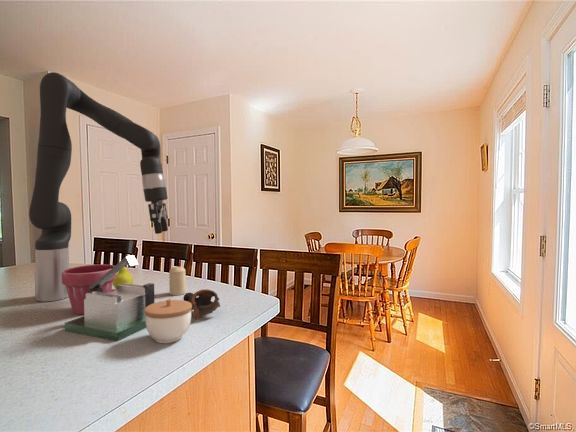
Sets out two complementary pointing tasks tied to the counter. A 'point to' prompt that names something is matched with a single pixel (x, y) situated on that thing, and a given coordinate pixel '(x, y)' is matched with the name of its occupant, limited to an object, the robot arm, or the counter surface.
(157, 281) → the counter surface
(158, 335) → the lidded jar
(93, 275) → the plant pot
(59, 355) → the counter surface
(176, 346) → the counter surface
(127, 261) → the grey long bar
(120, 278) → the fruit
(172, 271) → the candle
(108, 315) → the heat sink board
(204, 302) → the brown glossy rounded piece
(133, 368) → the counter surface
